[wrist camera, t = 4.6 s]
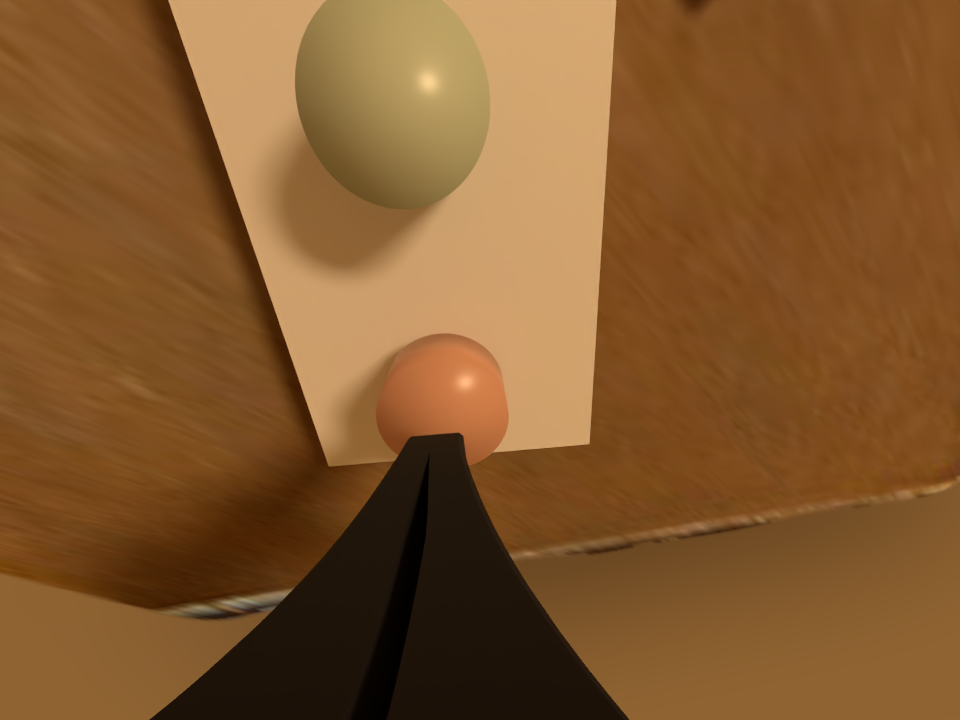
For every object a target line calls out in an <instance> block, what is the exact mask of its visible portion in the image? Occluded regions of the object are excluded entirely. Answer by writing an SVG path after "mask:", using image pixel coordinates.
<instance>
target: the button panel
mask: <svg viewBox="0 0 960 720" xmlns="http://www.w3.org/2000/svg"><path fill="white" fill-rule="evenodd" d="M168 1H169V4H170V7H171V10H172V13H173V15H174V18H175V21H176V24H177V27H178V30H179V33H180V36H181V39H182V42H183V44H184V47H185V50H186V53H187V56H188V59H189V62H190V65H191V68H192V71H193V74H194V76H195V79H196V82H197V85H198V88H199V91H200V94H201V97H202V100H203V103H204V106H205V108H206V111H207V114H208V117H209V120H210V123H211V126H212V129H213V132H214V135H215V138H216V140H217V143H218V146H219V149H220V152H221V155H222V158H223V161H224V164H225V167H226V170H227V172H228V175H229V178H230V181H231V184H232V187H233V190H234V193H235V196H236V199H237V201H238V204H239V207H240V210H241V213H242V216H243V219H244V222H245V225H246V228H247V231H248V233H249V236H250V239H251V242H252V245H253V248H254V251H255V254H256V257H257V260H258V263H259V265H260V268H261V271H262V274H263V277H264V280H265V283H266V286H267V289H268V292H269V295H270V297H271V300H272V303H273V306H274V309H275V312H276V315H277V318H278V321H279V324H280V326H281V329H282V332H283V335H284V338H285V341H286V344H287V347H288V350H289V353H290V356H291V358H292V361H293V364H294V367H295V370H296V373H297V376H298V379H299V382H300V385H301V388H302V390H303V393H304V396H305V399H306V402H307V405H308V408H309V411H310V414H311V417H312V420H313V422H314V425H315V428H316V431H317V434H318V437H319V440H320V443H321V446H322V449H323V451H324V454H325V457H326V460H327V463H328V466H329V467H330V466H341V465H353V464H365V463H376V462H388V461H395V460H396V458H397V456H398V455H397V454H396V453H394V452H393V451H392V450H391V449H390V448H389V447H388V446H387V444H386V443H385V441H384V440H383V438H382V436H381V434H380V432H379V429H378V426H377V421H376V408H377V403H378V400H379V397H380V394H381V392H382V389H383V386H384V384H385V381H386V378H387V375H388V373H389V370H390V367H391V365H392V363H393V361H394V359H395V358H396V356H397V355H398V353H399V352H400V351H401V350H402V349H403V348H404V347H406V346H407V345H408V344H410V343H411V342H413V341H415V340H417V339H419V338H421V337H424V336H428V335H432V334H441V333H448V334H456V335H461V336H464V337H467V338H470V339H472V340H474V341H476V342H478V343H479V344H481V345H482V346H484V347H485V348H486V349H487V350H488V351H489V352H490V353H491V354H492V355H493V356H494V358H495V359H496V361H497V363H498V365H499V367H500V369H501V373H502V377H503V383H504V389H505V395H506V400H507V406H508V413H509V422H508V427H507V431H506V433H505V436H504V438H503V440H502V441H501V443H500V444H499V446H498V447H497V448H496V449H495V450H494V451H493V452H503V451H515V450H526V449H538V448H549V447H561V446H572V445H584V444H589V441H590V425H591V408H592V392H593V375H594V359H595V342H596V326H597V309H598V293H599V276H600V260H601V243H602V227H603V210H604V194H605V177H606V161H607V144H608V128H609V111H610V95H611V78H612V62H613V45H614V29H615V12H616V0H443V1H444V2H445V3H446V4H447V5H448V6H449V7H450V8H451V9H452V10H453V11H454V12H455V13H456V14H457V15H458V17H459V18H460V19H461V20H462V22H463V23H464V24H465V26H466V27H467V29H468V31H469V32H470V34H471V35H472V37H473V39H474V41H475V43H476V45H477V47H478V49H479V51H480V54H481V57H482V60H483V63H484V66H485V69H486V74H487V78H488V83H489V92H490V119H489V128H488V132H487V137H486V141H485V144H484V147H483V150H482V152H481V155H480V157H479V159H478V161H477V163H476V165H475V166H474V168H473V169H472V171H471V173H470V174H469V176H468V177H467V178H466V179H465V180H464V181H463V183H462V184H461V185H460V186H459V187H457V188H456V189H455V190H454V191H453V192H452V193H450V194H449V195H447V196H446V197H444V198H443V199H441V200H439V201H437V202H435V203H433V204H430V205H427V206H423V207H419V208H413V209H393V208H386V207H382V206H378V205H375V204H372V203H370V202H367V201H365V200H363V199H361V198H359V197H358V196H356V195H354V194H353V193H351V192H350V191H348V190H347V189H346V188H344V187H343V186H342V185H341V184H340V183H339V182H337V181H336V180H335V179H334V178H333V177H332V176H331V174H330V173H329V172H328V171H327V170H326V169H325V168H324V166H323V165H322V163H321V162H320V161H319V159H318V158H317V156H316V155H315V153H314V151H313V149H312V147H311V146H310V144H309V142H308V139H307V137H306V135H305V132H304V130H303V127H302V123H301V120H300V117H299V113H298V108H297V102H296V93H295V68H296V61H297V54H298V51H299V47H300V44H301V40H302V37H303V35H304V33H305V30H306V28H307V26H308V24H309V22H310V21H311V19H312V18H313V16H314V14H315V13H316V12H317V10H318V9H319V8H320V7H321V6H322V4H323V3H324V2H325V1H326V0H168Z"/></svg>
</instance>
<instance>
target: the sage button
mask: <svg viewBox="0 0 960 720" xmlns="http://www.w3.org/2000/svg"><path fill="white" fill-rule="evenodd" d="M295 93H296V102H297V108H298V113H299V117H300V120H301V123H302V127H303V130H304V132H305V135H306V137H307V139H308V142H309V144H310V146H311V147H312V149H313V151H314V153H315V155H316V156H317V158H318V159H319V161H320V162H321V163H322V165H323V166H324V168H325V169H326V170H327V171H328V172H329V173H330V174H331V176H332V177H333V178H334V179H335V180H336V181H337V182H339V183H340V184H341V185H342V186H343V187H344V188H346V189H347V190H348V191H350V192H351V193H353V194H354V195H356V196H358V197H359V198H361V199H363V200H365V201H367V202H370V203H372V204H375V205H378V206H382V207H386V208H393V209H413V208H419V207H423V206H427V205H430V204H433V203H435V202H437V201H439V200H441V199H443V198H444V197H446V196H447V195H449V194H450V193H452V192H453V191H454V190H455V189H456V188H457V187H459V186H460V185H461V184H462V183H463V181H464V180H465V179H466V178H467V177H468V176H469V174H470V173H471V171H472V169H473V168H474V166H475V165H476V163H477V161H478V159H479V157H480V155H481V152H482V150H483V147H484V144H485V141H486V137H487V132H488V128H489V119H490V92H489V83H488V78H487V74H486V69H485V66H484V63H483V60H482V57H481V54H480V51H479V49H478V47H477V45H476V43H475V41H474V39H473V37H472V35H471V34H470V32H469V31H468V29H467V27H466V26H465V24H464V23H463V22H462V20H461V19H460V18H459V17H458V15H457V14H456V13H455V12H454V11H453V10H452V9H451V8H450V7H449V6H448V5H447V4H446V3H445V2H444V1H443V0H326V1H325V2H324V3H323V4H322V6H321V7H320V8H319V9H318V10H317V12H316V13H315V14H314V16H313V18H312V19H311V21H310V22H309V24H308V26H307V28H306V30H305V33H304V35H303V37H302V40H301V44H300V47H299V51H298V54H297V61H296V68H295Z"/></svg>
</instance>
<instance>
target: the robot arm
mask: <svg viewBox="0 0 960 720" xmlns="http://www.w3.org/2000/svg"><path fill="white" fill-rule="evenodd" d="M150 720H629V719H628V717H627V716H626V715H625V714H624V713H623V712H622V710H621V709H620V708H619V707H618V706H617V704H616V703H615V702H614V701H613V700H612V698H611V697H610V696H609V695H608V693H607V692H606V691H605V690H604V688H603V687H602V686H601V685H600V683H599V682H598V681H597V679H596V678H595V677H594V676H593V674H592V673H591V672H590V671H589V670H588V668H587V667H586V666H585V664H584V663H583V662H582V661H581V659H580V658H579V656H578V655H577V654H576V653H575V651H574V650H573V648H572V647H571V646H570V644H569V643H568V642H567V641H566V639H565V638H564V637H563V635H562V634H561V633H560V631H559V630H558V628H557V627H556V625H555V624H554V623H553V621H552V620H551V618H550V617H549V615H548V614H547V612H546V611H545V609H544V608H543V607H542V605H541V604H540V602H539V601H538V599H537V598H536V596H535V595H534V593H533V592H532V591H531V589H530V588H529V586H528V585H527V583H526V581H525V580H524V578H523V577H522V575H521V573H520V572H519V570H518V568H517V567H516V565H515V564H514V562H513V560H512V558H511V557H510V555H509V553H508V552H507V550H506V548H505V546H504V545H503V543H502V541H501V539H500V537H499V535H498V533H497V532H496V530H495V528H494V526H493V524H492V522H491V520H490V518H489V516H488V513H487V511H486V509H485V507H484V505H483V503H482V500H481V498H480V496H479V493H478V491H477V488H476V486H475V483H474V481H473V478H472V475H471V472H470V469H469V466H468V463H467V459H466V452H465V444H464V436H463V435H462V434H460V433H459V432H458V433H446V434H434V435H423V436H411V437H410V438H409V439H408V440H407V442H406V443H405V445H404V447H403V448H402V450H401V452H400V453H399V455H398V456H397V458H396V460H395V461H394V463H393V464H392V466H391V468H390V469H389V471H388V472H387V474H386V475H385V477H384V478H383V480H382V481H381V483H380V484H379V485H378V487H377V488H376V490H375V491H374V493H373V494H372V496H371V497H370V498H369V500H368V501H367V503H366V504H365V505H364V507H363V508H362V509H361V511H360V512H359V513H358V515H357V516H356V517H355V518H354V520H353V521H352V522H351V524H350V525H349V526H348V528H347V529H346V530H345V531H344V533H343V534H342V535H341V536H340V538H339V539H338V540H337V541H336V543H335V544H334V545H333V546H332V547H331V549H330V550H329V551H328V552H327V553H326V554H325V555H324V557H323V558H322V559H321V560H320V561H319V562H318V563H317V565H316V566H315V567H314V568H313V569H312V570H311V571H310V572H309V573H308V575H307V576H306V577H305V578H304V579H303V580H302V581H301V582H300V583H299V584H298V585H297V586H296V587H295V588H294V589H293V590H292V591H291V592H290V593H289V594H288V595H287V596H286V597H285V599H284V600H283V601H282V602H281V603H280V604H279V605H278V606H277V607H276V608H275V609H274V610H273V611H272V612H271V613H270V614H269V615H268V616H267V617H266V618H265V619H264V620H263V621H262V622H261V623H260V624H259V625H258V626H256V628H254V629H253V630H252V631H251V632H250V633H249V634H248V635H247V636H246V637H245V638H243V639H242V640H241V641H240V642H239V643H238V644H237V645H236V646H235V647H233V648H232V649H231V650H230V651H229V652H228V653H227V654H226V655H225V656H224V657H222V658H221V659H220V660H219V661H218V662H217V663H216V664H215V665H214V666H213V667H211V668H210V669H209V670H208V671H207V672H206V673H205V674H204V675H203V676H201V677H200V678H199V679H198V680H197V681H196V682H195V683H194V684H192V685H191V686H190V687H189V688H187V689H186V690H185V691H184V692H183V693H182V694H180V695H179V696H178V697H177V698H176V699H174V700H173V701H172V702H171V703H170V704H168V705H167V706H166V707H165V708H163V709H162V710H161V711H160V712H158V713H157V714H156V715H155V716H154V717H152V718H151V719H150Z"/></svg>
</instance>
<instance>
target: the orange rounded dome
mask: <svg viewBox="0 0 960 720" xmlns="http://www.w3.org/2000/svg"><path fill="white" fill-rule="evenodd" d="M376 421H377V426H378V429H379V432H380V434H381V436H382V438H383V440H384V441H385V443H386V444H387V446H388V447H389V448H390V449H391V450H392V451H393V452H394V453H396V454H397V455H399V453H400V452H401V450H402V448H403V447H404V445H405V443H406V442H407V440H408V439H409V438H410V437H411V436H423V435H434V434H446V433H458V432H459V433H460V434H462V435H463V436H464V444H465V452H466V459H467V463H468V466H470V465H473V464H475V463H477V462H479V461H481V460H483V459H484V458H486V457H487V456H489V455H490V454H491V453H492V452H493V451H494V450H495V449H496V448H497V447H498V446H499V444H500V443H501V441H502V440H503V438H504V436H505V433H506V431H507V427H508V422H509V413H508V406H507V400H506V395H505V389H504V383H503V377H502V373H501V369H500V367H499V365H498V363H497V361H496V359H495V358H494V356H493V355H492V354H491V353H490V352H489V351H488V350H487V349H486V348H485V347H484V346H482V345H481V344H479V343H478V342H476V341H474V340H472V339H470V338H467V337H464V336H461V335H456V334H448V333H441V334H432V335H428V336H424V337H421V338H419V339H417V340H415V341H413V342H411V343H410V344H408V345H407V346H406V347H404V348H403V349H402V350H401V351H400V352H399V353H398V355H397V356H396V358H395V359H394V361H393V363H392V365H391V367H390V370H389V373H388V375H387V378H386V381H385V384H384V386H383V389H382V392H381V394H380V397H379V400H378V403H377V408H376Z"/></svg>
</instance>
